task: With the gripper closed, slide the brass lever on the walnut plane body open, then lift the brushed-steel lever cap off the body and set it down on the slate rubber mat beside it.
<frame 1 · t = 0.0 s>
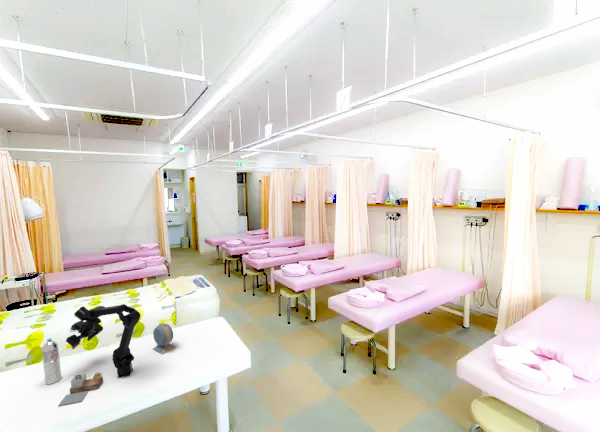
hand: (80, 344, 167), 15 cm above the table, tool tilted 35°, fingers open, 9 cm apart
lever: (97, 376, 153), point 5 cm above the table, slide at 0.0 cm
mat: (73, 398, 142), on the table
plane body: (87, 387, 150), on the table
water bottle: (53, 381, 157), on the table
lever cap: (79, 384, 149), point 3 cm above the table, touching plane body
alarm clock: (164, 348, 187), on the table
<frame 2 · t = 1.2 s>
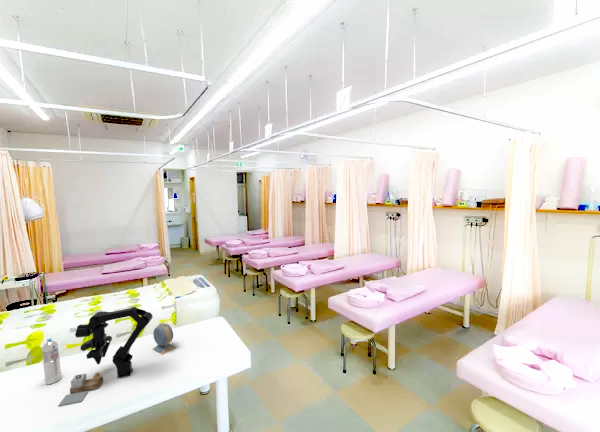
hand: (101, 360, 158), 10 cm above the table, tool pointing down, fingers open, 7 cm apart
nothing on the table moved.
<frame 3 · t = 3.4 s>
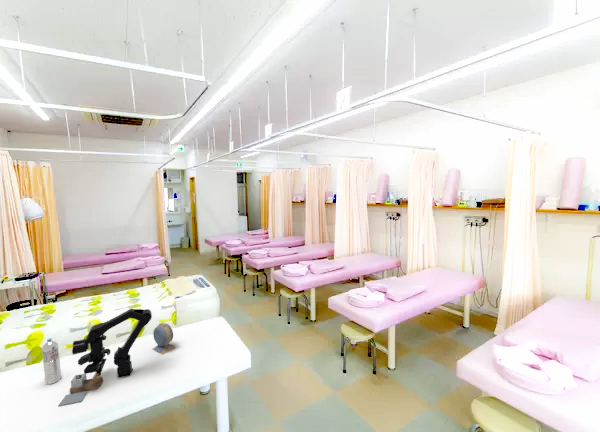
hand: (99, 374, 155), 4 cm above the table, tool pointing down, fingers closed
lever: (97, 376, 153), point 5 cm above the table, slide at 0.0 cm, touching gripper
everything else where it was.
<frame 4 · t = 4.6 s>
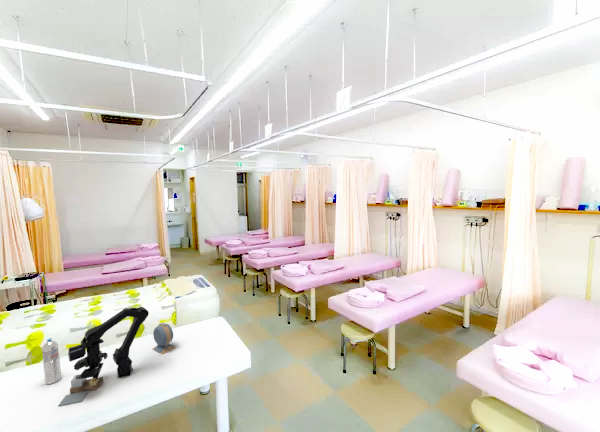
hand: (96, 379, 151), 4 cm above the table, tool pointing down, fingers closed
lever: (94, 381, 149), point 5 cm above the table, slide at 4.1 cm, touching gripper
everything else where it was.
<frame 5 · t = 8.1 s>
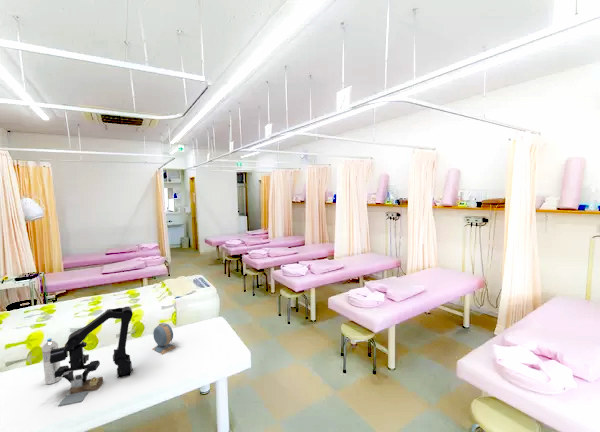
hand: (79, 383, 149), 4 cm above the table, tool pointing down, fingers closed on lever cap, 5 cm apart
lever: (94, 381, 149), point 5 cm above the table, slide at 4.1 cm
lever cap: (79, 384, 149), point 3 cm above the table, touching gripper, plane body
everything else where it was.
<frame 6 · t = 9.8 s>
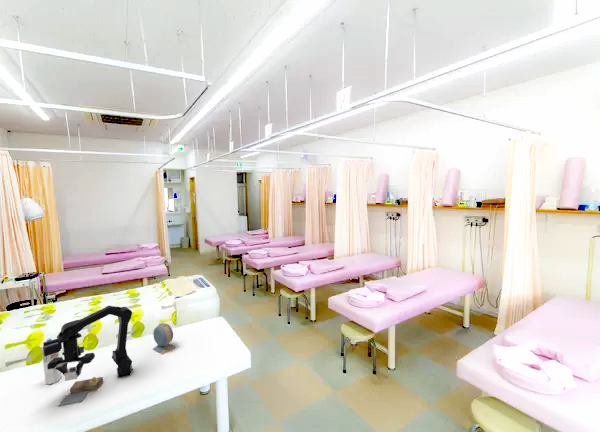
hand: (73, 375, 143), 11 cm above the table, tool pointing down, fingers closed on lever cap, 5 cm apart
lever cap: (73, 376, 144), point 11 cm above the table, touching gripper
everything else where it was.
when the fingers open (3 cm above the table, at t = 11.9 s): lever cap drops 1 cm, resting on mat.
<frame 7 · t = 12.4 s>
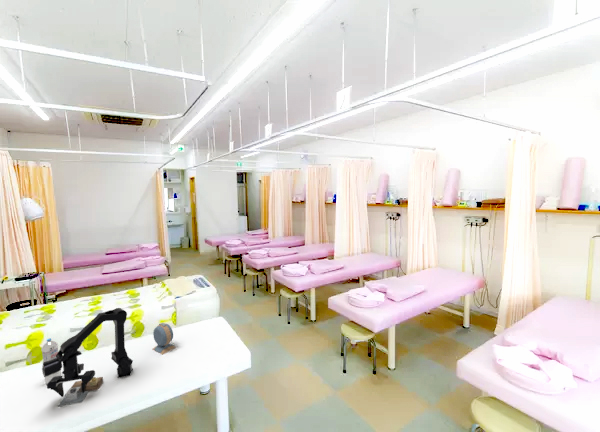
hand: (73, 394, 142), 3 cm above the table, tool pointing down, fingers open, 9 cm apart
lever cap: (73, 397, 142), point 1 cm above the table, touching mat
everything else where it was.
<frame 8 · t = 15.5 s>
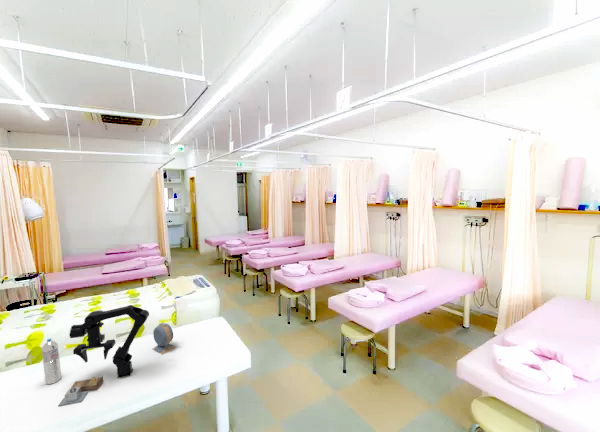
hand: (96, 360, 157), 11 cm above the table, tool pointing down, fingers open, 9 cm apart
nothing on the table moved.
at the end: lever slide at 4.1 cm; lever cap 0.0 cm off-centre on the mat, point 0.6 cm above the mat's base; lever cap tilted 0° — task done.
